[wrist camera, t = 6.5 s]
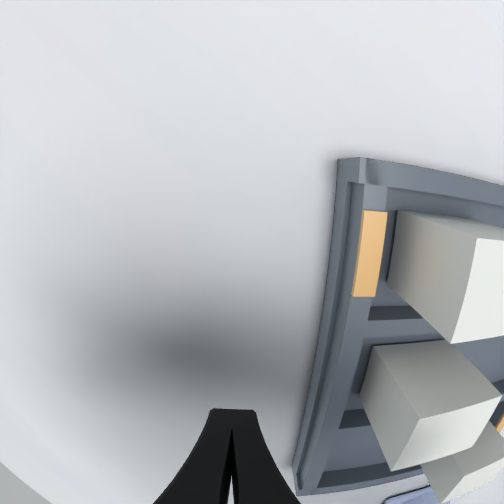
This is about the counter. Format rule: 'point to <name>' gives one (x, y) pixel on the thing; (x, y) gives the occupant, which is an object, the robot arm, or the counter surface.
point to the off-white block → (425, 401)
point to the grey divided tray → (377, 316)
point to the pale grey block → (467, 466)
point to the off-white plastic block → (450, 273)
